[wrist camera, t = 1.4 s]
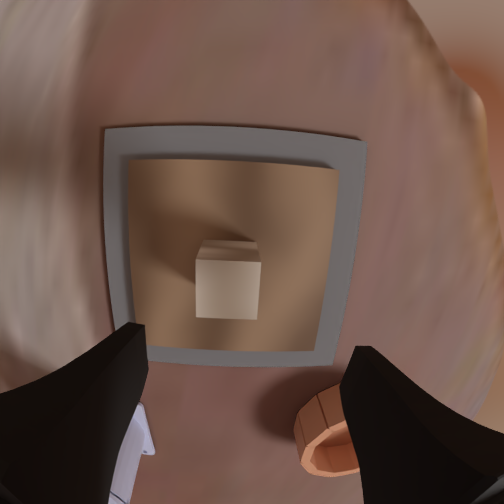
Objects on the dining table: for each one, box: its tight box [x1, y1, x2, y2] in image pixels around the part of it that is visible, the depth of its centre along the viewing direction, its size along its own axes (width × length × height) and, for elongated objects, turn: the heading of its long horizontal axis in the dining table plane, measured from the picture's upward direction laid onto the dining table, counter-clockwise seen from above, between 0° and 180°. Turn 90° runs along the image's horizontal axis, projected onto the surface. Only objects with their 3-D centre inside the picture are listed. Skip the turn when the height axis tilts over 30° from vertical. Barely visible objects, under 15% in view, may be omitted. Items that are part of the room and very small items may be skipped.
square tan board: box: [128, 159, 339, 352], centre depth 16 cm, size 12×12×4 cm
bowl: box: [293, 383, 360, 477], centre depth 22 cm, size 10×10×4 cm
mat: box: [103, 126, 367, 367], centre depth 19 cm, size 16×16×1 cm
